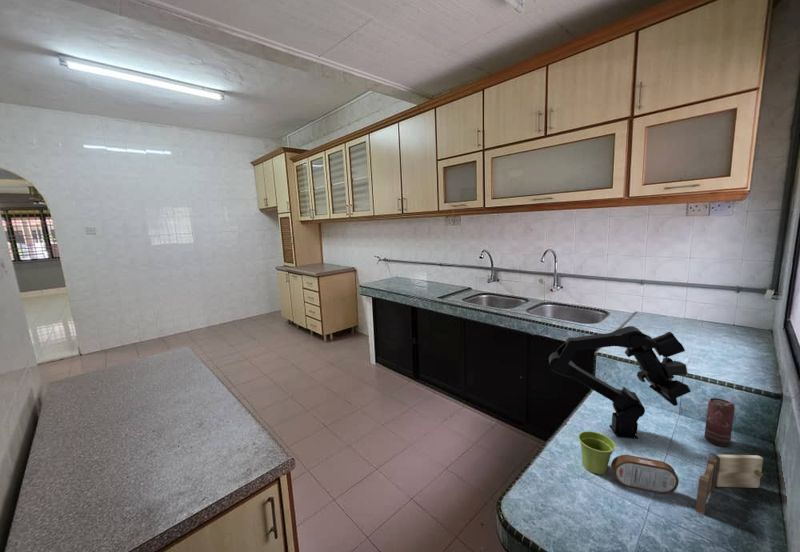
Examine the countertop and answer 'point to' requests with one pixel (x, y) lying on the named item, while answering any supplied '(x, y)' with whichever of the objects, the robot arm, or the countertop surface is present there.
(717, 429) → the can
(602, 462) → the plant pot
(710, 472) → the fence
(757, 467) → the panel
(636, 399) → the robot arm
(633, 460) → the tin
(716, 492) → the countertop surface
